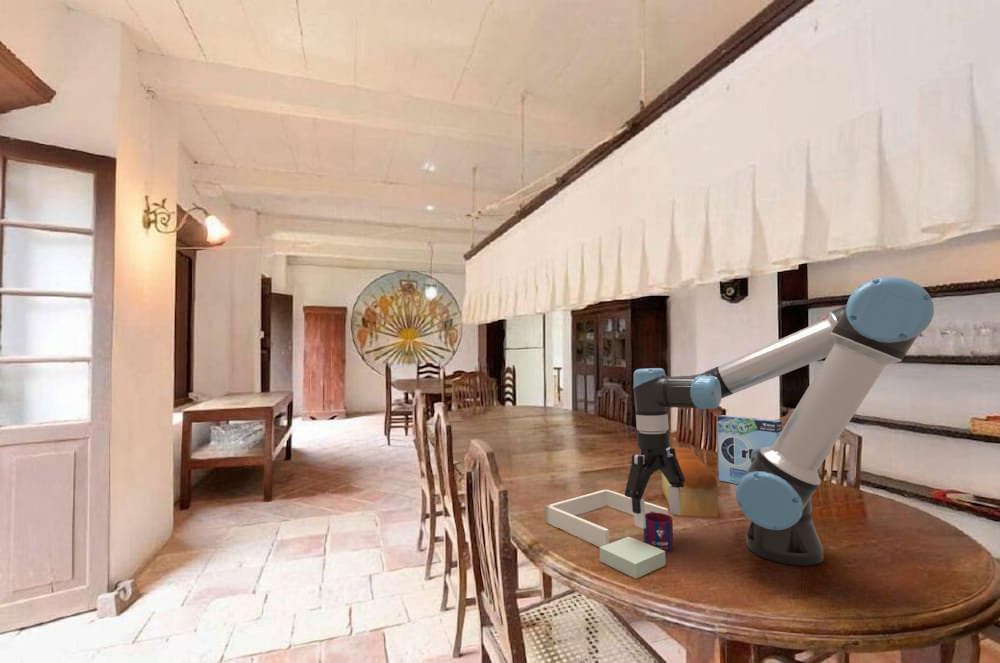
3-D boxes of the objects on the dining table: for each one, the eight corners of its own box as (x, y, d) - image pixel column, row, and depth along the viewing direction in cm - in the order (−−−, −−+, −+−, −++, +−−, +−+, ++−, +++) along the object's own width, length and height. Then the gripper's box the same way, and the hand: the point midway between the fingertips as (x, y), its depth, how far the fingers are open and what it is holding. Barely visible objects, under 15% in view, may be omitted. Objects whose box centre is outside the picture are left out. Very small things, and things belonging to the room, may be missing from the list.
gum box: (718, 481, 161) (716, 416, 162) (725, 478, 165) (722, 414, 166) (779, 493, 146) (776, 422, 147) (785, 490, 150) (782, 420, 151)
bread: (720, 518, 126) (718, 465, 127) (672, 516, 129) (670, 463, 130) (700, 491, 151) (698, 446, 151) (661, 489, 153) (659, 445, 154)
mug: (645, 551, 107) (644, 521, 107) (640, 534, 117) (640, 507, 117) (675, 553, 106) (674, 523, 106) (668, 535, 115) (667, 508, 116)
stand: (665, 565, 100) (665, 551, 100) (635, 578, 94) (635, 564, 94) (629, 549, 108) (628, 536, 108) (599, 561, 102) (599, 547, 102)
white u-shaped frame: (668, 525, 121) (668, 508, 122) (605, 550, 108) (605, 530, 108) (606, 504, 140) (606, 489, 140) (545, 522, 126) (545, 505, 126)
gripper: (670, 424, 122) (675, 504, 120) (605, 436, 108) (611, 528, 106) (695, 426, 116) (702, 511, 114) (631, 440, 101) (637, 537, 100)
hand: (658, 519), depth 110 cm, fingers open, 13 cm apart
